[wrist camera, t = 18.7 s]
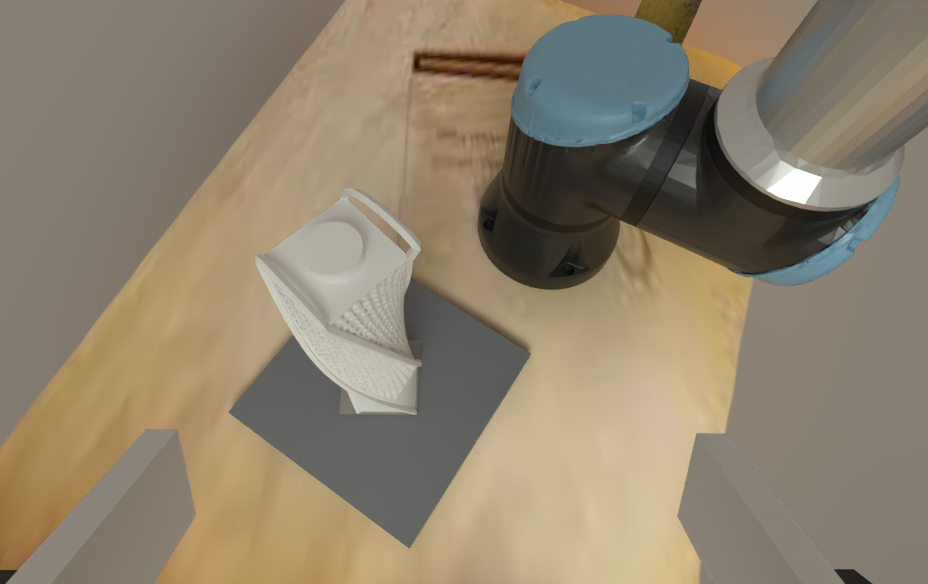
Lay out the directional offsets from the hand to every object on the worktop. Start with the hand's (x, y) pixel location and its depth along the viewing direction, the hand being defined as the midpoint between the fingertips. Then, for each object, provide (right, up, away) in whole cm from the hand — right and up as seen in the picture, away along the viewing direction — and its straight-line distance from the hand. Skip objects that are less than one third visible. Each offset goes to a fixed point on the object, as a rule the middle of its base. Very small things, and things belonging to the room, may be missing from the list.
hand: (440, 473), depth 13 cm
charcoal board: (-7, -4, +36) cm, 36 cm away
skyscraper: (-6, -4, +34) cm, 35 cm away
